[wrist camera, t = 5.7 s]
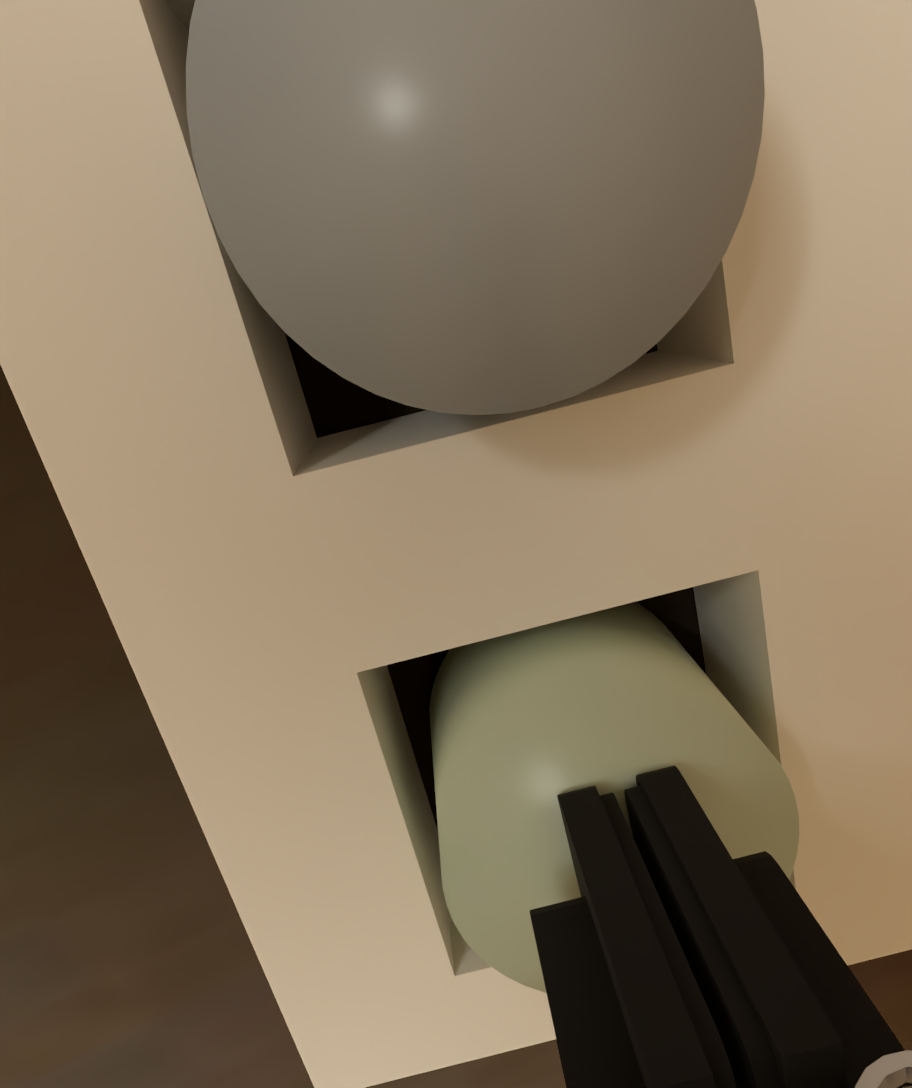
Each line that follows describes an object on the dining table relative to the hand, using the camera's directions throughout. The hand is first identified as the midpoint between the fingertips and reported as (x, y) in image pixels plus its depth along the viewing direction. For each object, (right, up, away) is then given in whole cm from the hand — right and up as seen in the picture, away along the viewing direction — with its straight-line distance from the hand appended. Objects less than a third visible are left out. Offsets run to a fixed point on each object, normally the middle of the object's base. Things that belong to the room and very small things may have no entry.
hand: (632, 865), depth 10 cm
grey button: (-2, +9, 0) cm, 10 cm away
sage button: (0, +1, +4) cm, 4 cm away
